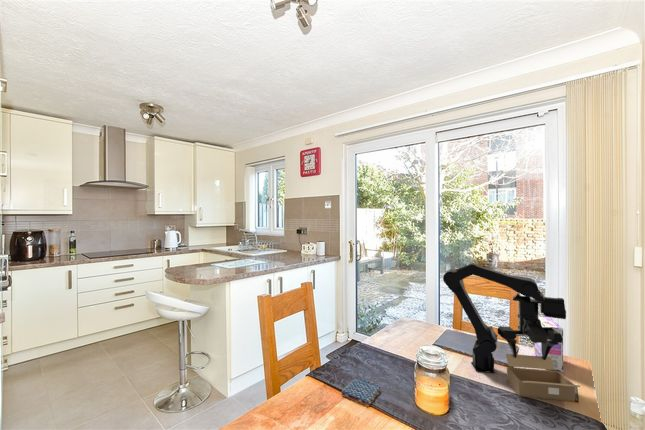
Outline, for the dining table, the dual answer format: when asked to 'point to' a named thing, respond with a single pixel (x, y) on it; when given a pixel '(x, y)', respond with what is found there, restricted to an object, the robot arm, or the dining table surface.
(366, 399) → the woven mat
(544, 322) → the candy box
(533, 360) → the back flap
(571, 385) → the front flap
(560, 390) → the carton
